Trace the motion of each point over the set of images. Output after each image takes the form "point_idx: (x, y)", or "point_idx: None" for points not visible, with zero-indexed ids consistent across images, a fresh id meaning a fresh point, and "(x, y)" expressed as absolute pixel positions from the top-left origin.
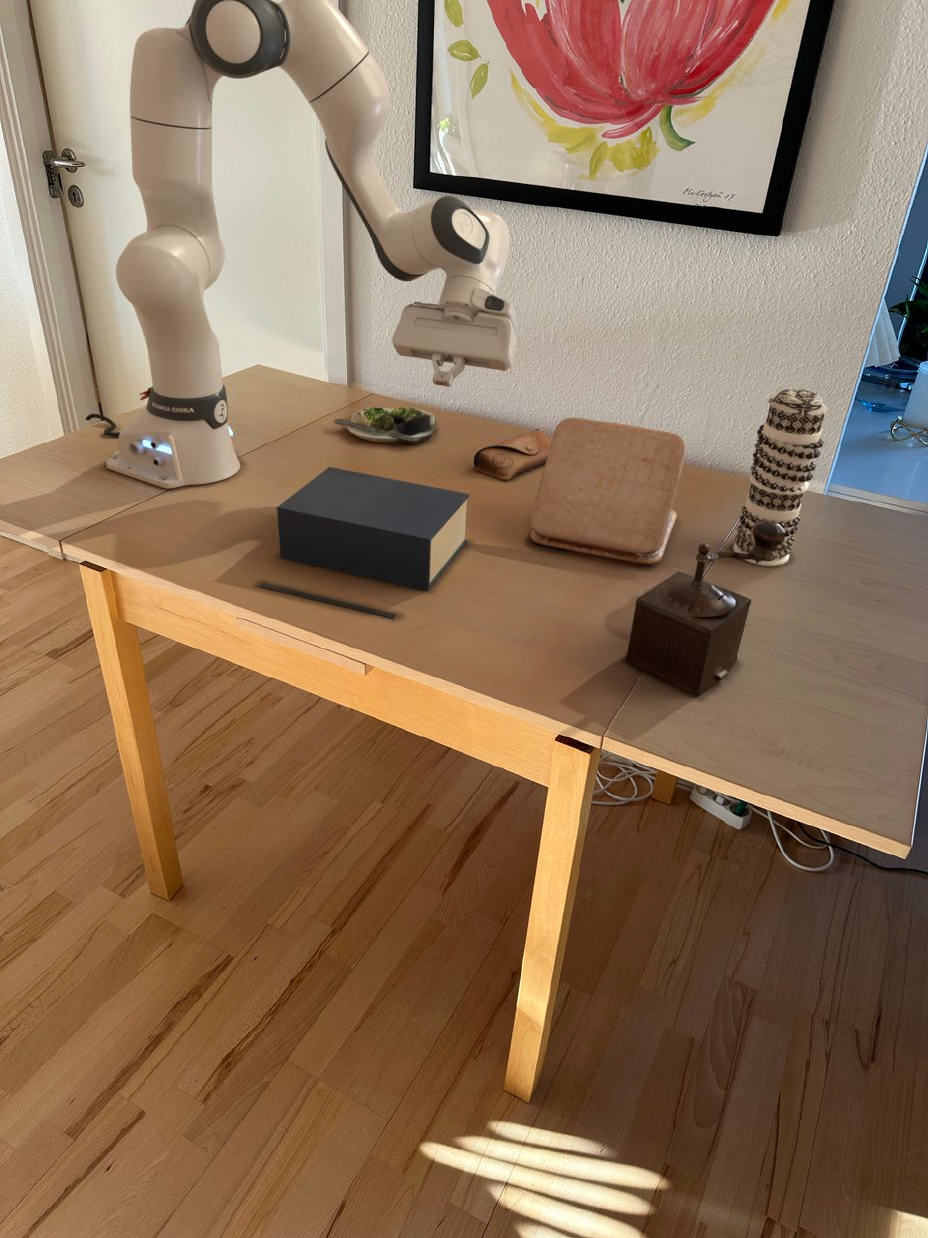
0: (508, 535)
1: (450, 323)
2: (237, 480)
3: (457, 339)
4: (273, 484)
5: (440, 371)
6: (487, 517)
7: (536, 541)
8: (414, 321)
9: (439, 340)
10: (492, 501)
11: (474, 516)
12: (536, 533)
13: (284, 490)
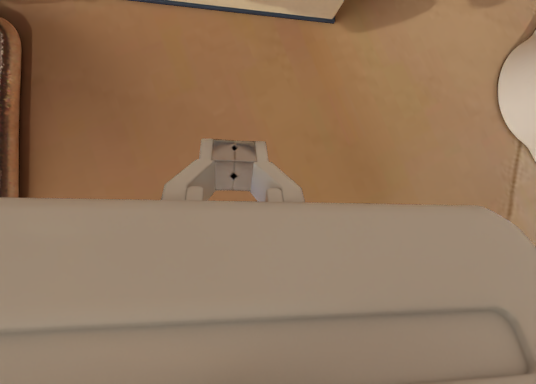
0: (63, 43)
1: (288, 382)
2: (485, 79)
3: (198, 262)
4: (440, 85)
5: (245, 158)
6: (116, 93)
7: (3, 18)
8: (519, 338)
9: (302, 243)
10: (127, 154)
11: (137, 89)
12: (2, 29)
13: (419, 72)
